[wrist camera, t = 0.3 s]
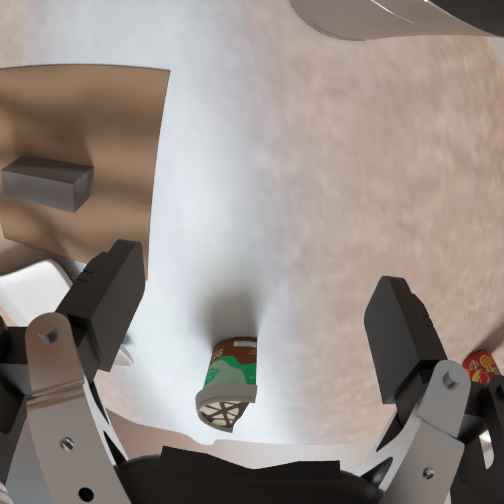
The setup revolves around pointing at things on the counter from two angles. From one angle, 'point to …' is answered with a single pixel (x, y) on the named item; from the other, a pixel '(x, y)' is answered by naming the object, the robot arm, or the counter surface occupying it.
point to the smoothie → (481, 373)
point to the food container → (228, 383)
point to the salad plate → (40, 296)
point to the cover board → (79, 156)
